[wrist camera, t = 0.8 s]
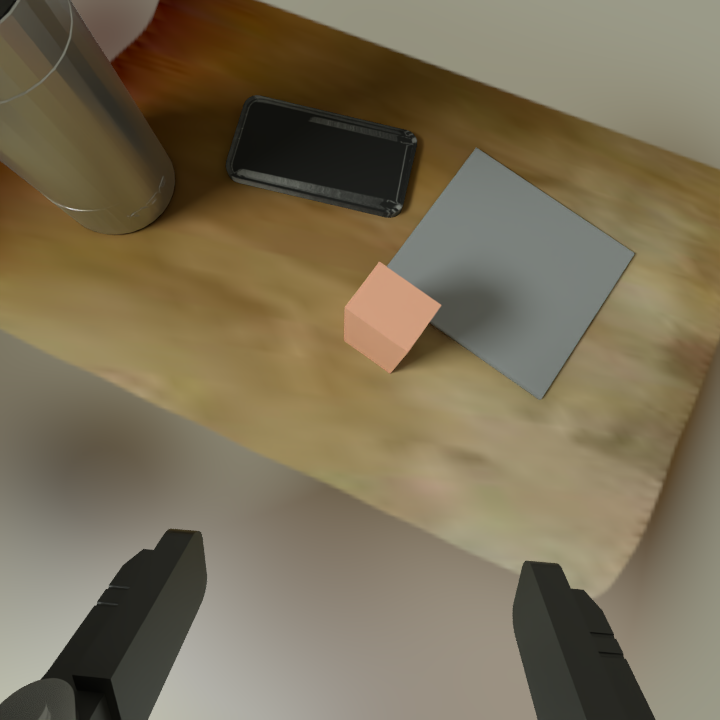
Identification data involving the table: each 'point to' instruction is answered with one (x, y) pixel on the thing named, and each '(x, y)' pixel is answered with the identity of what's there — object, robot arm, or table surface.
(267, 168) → the phone
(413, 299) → the block
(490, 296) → the mat
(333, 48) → the table surface
